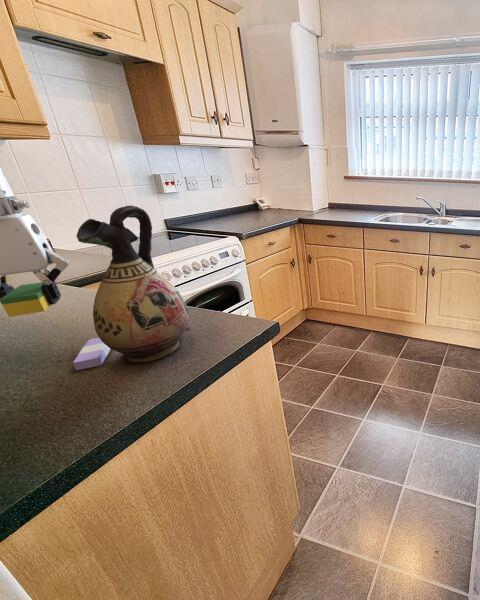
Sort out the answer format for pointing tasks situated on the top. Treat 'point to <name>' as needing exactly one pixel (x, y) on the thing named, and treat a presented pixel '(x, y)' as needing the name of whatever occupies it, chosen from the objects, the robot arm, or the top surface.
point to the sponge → (25, 300)
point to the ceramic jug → (134, 292)
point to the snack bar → (91, 354)
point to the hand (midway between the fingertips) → (35, 304)
